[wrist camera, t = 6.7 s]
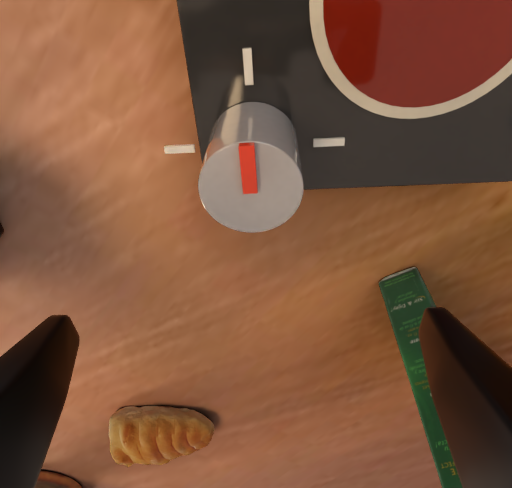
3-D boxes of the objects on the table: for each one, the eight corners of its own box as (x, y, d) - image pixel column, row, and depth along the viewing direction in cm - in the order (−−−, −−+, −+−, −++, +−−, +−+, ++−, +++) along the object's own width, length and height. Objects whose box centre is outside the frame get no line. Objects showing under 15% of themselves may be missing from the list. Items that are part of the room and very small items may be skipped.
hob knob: (297, 182, 20) (303, 235, 16) (215, 185, 20) (204, 239, 16) (297, 98, 17) (304, 141, 14) (203, 103, 17) (188, 147, 14)
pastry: (203, 396, 36) (198, 439, 33) (222, 432, 40) (219, 473, 37) (107, 406, 38) (93, 447, 35) (135, 439, 42) (125, 479, 39)
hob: (187, 196, 23) (180, 223, 21) (119, -162, 14) (93, -177, 12) (485, 184, 22) (508, 211, 20) (616, -206, 13) (682, -230, 11)
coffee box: (451, 333, 30) (547, 545, 20) (413, 345, 31) (485, 553, 21) (418, 263, 26) (517, 486, 16) (375, 279, 27) (442, 499, 17)
